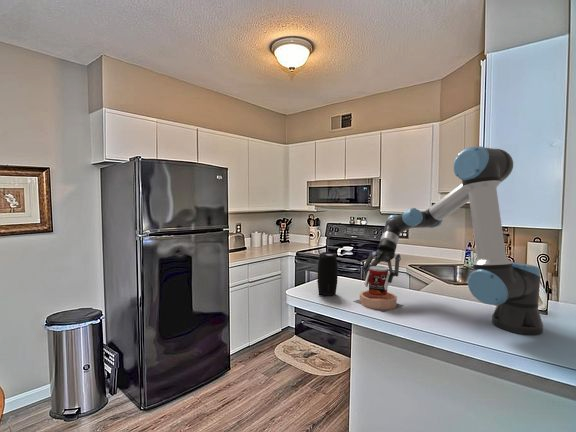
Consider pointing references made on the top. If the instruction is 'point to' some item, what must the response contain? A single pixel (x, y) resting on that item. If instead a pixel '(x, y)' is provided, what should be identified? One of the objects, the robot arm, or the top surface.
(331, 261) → the portable speaker
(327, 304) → the top surface
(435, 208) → the robot arm
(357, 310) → the top surface
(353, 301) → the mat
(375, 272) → the canned food
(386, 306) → the bowl
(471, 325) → the top surface
